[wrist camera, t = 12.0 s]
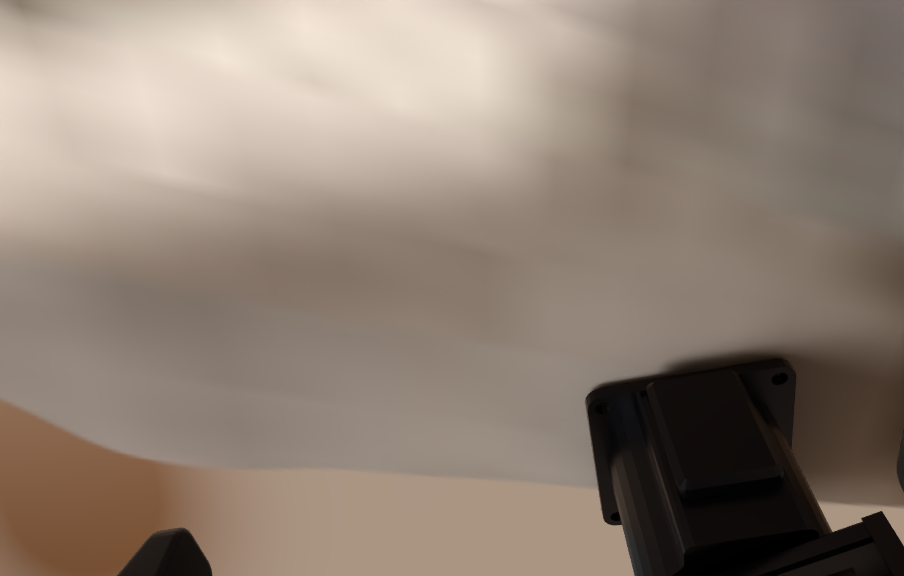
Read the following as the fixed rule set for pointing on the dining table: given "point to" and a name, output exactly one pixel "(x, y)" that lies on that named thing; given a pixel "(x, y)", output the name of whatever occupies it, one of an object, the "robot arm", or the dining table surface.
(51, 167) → the dining table surface
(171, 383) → the dining table surface
